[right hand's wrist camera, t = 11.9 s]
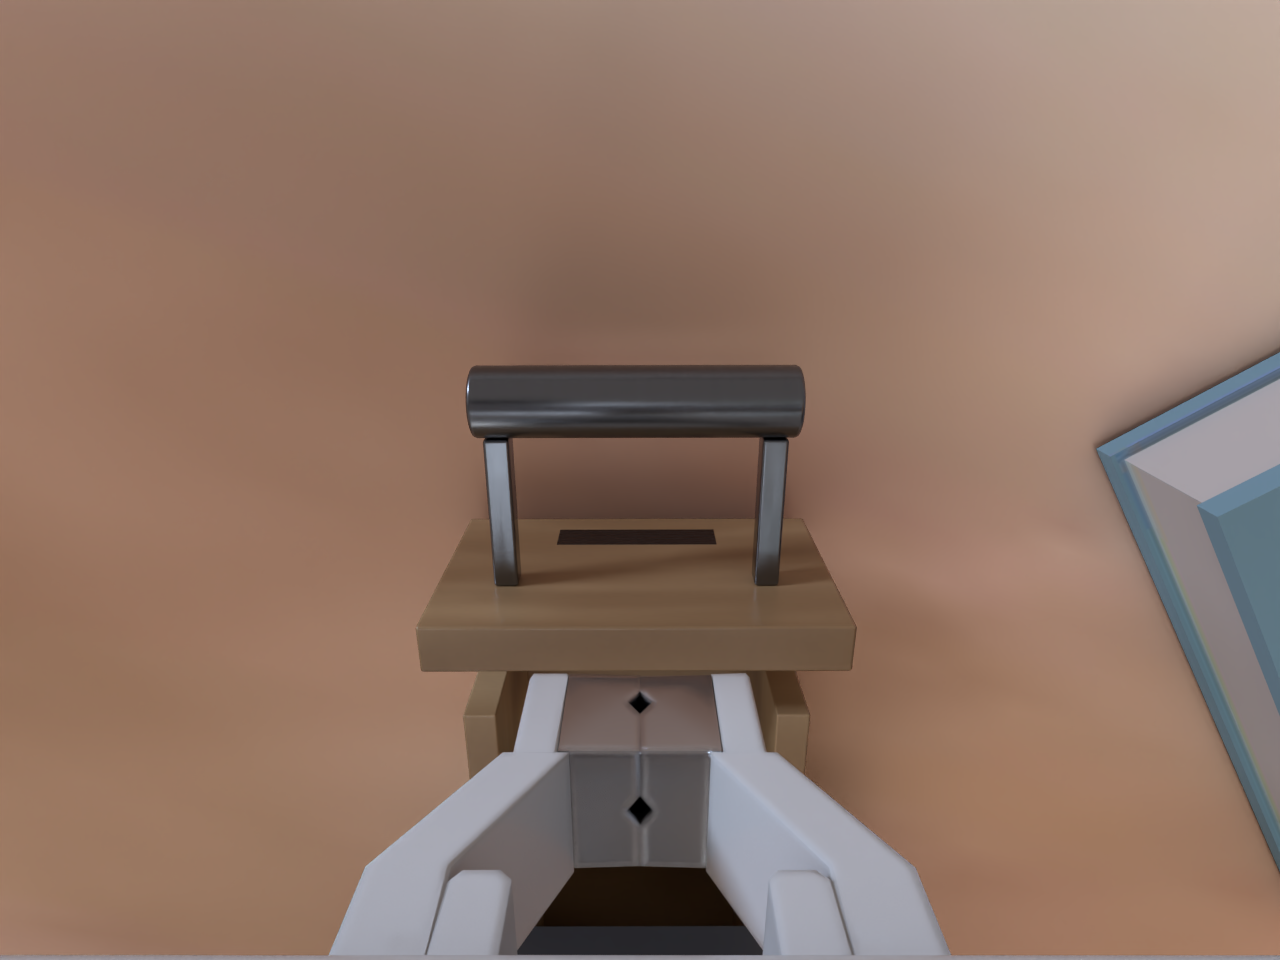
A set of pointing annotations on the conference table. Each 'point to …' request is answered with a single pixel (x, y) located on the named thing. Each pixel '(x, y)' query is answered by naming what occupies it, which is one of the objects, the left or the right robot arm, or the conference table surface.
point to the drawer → (635, 586)
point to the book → (1218, 557)
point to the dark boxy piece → (640, 940)
